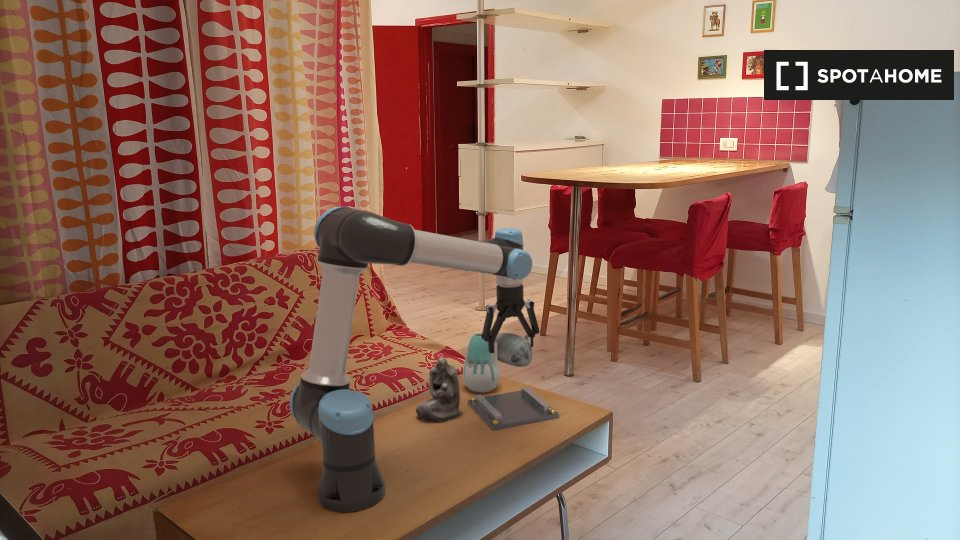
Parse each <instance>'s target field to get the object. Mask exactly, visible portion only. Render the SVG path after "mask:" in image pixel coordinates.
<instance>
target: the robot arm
mask: <svg viewBox="0 0 960 540" xmlns="http://www.w3.org/2000/svg"><path fill="white" fill-rule="evenodd" d="M313 236H314V240H315V243H316V245H317V246H318V256H317V263H318V265H319V266H320V267H321V268H322V275H321V282H320V288H319V295H318V296H319V297H318V302H317V307H316V316H315V323H314V330H313V336H312V343H311V352H310V357H309V366H308V368H307V369H306V370H305V371H304V372H302V373H301V375H300V381H299V382H298V384H297V385H296V386H294V388H293V390H292V391H291V394H290V397H289V408H290V409H289V410H290V412H291V415H292V417H293V418H294V420H295V421H296V423H297V424H298V425H300V427H302V428H303V429H304V430H306V431H308V432H309V433H310V434H311V435H312V436H314V437H315V438H316V439H317V440H318V441H320V443H321V453H322V462H323V463H322V464H323V468H322V470H321V475H320V479H319V482H318V486H317V501H318V503H319V504H320V506H321V507H323V508H325V509H327V510H329V511H331V512H340V513H350V512H358V511H362V510H366V509H368V508H371V507H372V506H375V505H376V504H378V503H379V502H380V501H381V500H382V499H384V496H385V494H386V482H385V479H384V476H383V475H382V472H381V470H380V468H379V464H378V462H377V461H376V460H377V459H376V445H375V430H374V429H375V426H374V410H373V405H372V402H371V400H370V398H369V396H367V395H366V394H365V393H363V392H361V391H358V390H351V389H350V385H351V378H350V377H349V376H348V375H347V373H346V368H347V363H348V356H349V355H348V354H349V348H350V342H351V335H352V328H353V321H354V316H355V307H356V301H357V295H358V290H359V289H358V287H359V282H360V275H361V274H362V273H363V272H365V271H366V270H368V264H372V265H373V264H376V265H377V264H378V265H392V266H393V265H394V266H401V267H402V266H407V265H408V264H409V263H413V264H419V265H426V266H432V267H437V268H438V267H439V268H446V269H451V270H452V269H453V270H460V271H465V272H471V273H472V272H473V273H480V274H487V275H492V276H495V283H496V284H497V285H495V286H496V289H495V291H496V302H495V304H492V305H490V304H487V305H486V306H485V311H486V315H485V319H484V323H483V328H482V332H481V334H482V336H481V338H482V339H483V340H484V341H486V342H488V351H489V352H490V353H491V358H492V363H493V364H494V365H498V364H499V360H498V357H497V342H496V341H495V339H496V337H497V335H498V334H500V333H499V332H500V330H501V328H502V326H503V324H504V322H505V321H506V320H507V319H510V318H512V317H513V318H516V317H517V319H518V321H519V323H520V324H521V326H522V328H523V329H524V331H525V333H526V334H524V335H523V338H525V339H526V340H527V341H528V342H529V343H530V345H531V348H533V347H534V338H535V337H536V335H539V334H540V328H539V324H538V321H537V317H536V313H535V302H534V301H533V300H531V299H527V300H524V296H525V295H524V285H523V283H524V279H525V278H527V277H528V276H529V275H530V273H531V272H532V268H533V257H532V256H531V254H530V253H529V252H528V251H525V250H524V242H523V240H524V239H523V238H524V237H523V232H522V230H521V229H519V228H514V227H513V228H512V227H504V228H503V227H502V228H498V229H496V230H495V232H494V238H490V239H484V240H472V239H466V238H461V237H456V236H450V235H445V234H441V233H440V234H439V233H433V232H429V231H423V230H419V229H415V228H414V227H413V226H412V225H411V224H409V223H405V222H401V221H397V220H394V219H390V218H388V217H385V216H384V215H380V214H377V213H374V212H372V211H367V210H362V209H357V208H355V207H354V208H353V207H349V206H336V207H331V208H328V209H327V210H326V211H325V212H323V213H322V214H320V216H319V217H318V219H317V221H316V223H315V226H314V229H313ZM524 307H525V309H526V313H527V316H528V320H529V322H528V321H527V319H526V318H525V315H524V314H523V311H522V310H523V309H524ZM496 310H497V311H498V313H497V315H496V318H495V321H494V314H495V313H496ZM493 321H494V323H493ZM529 323H530V325H529Z"/></svg>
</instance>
